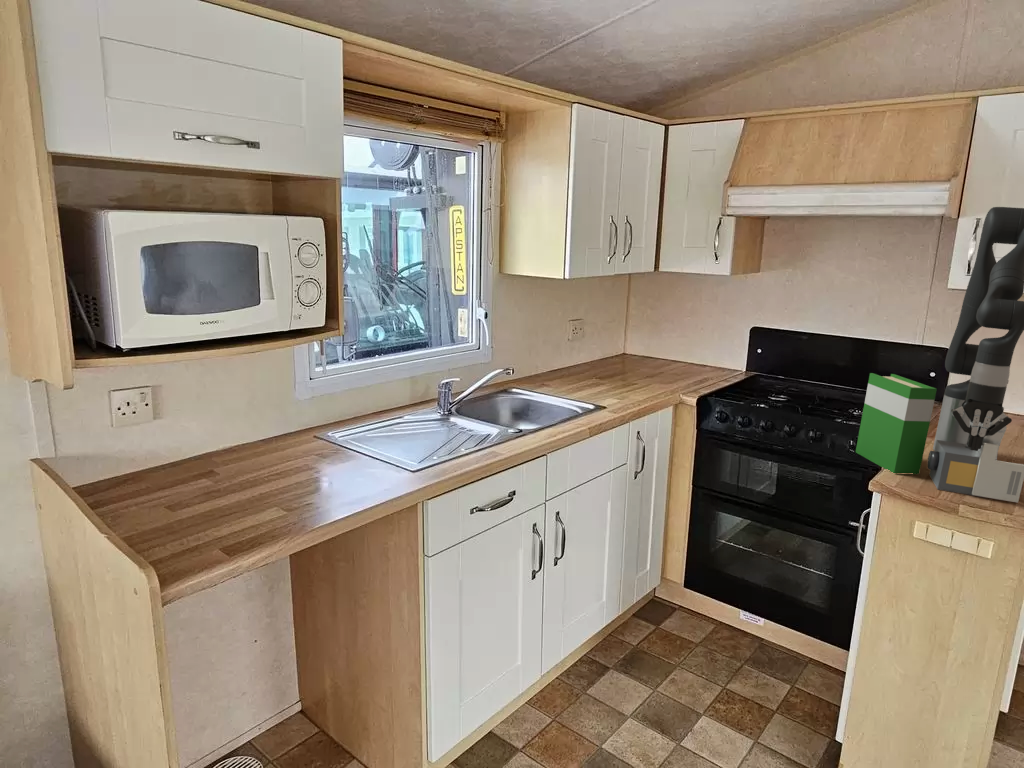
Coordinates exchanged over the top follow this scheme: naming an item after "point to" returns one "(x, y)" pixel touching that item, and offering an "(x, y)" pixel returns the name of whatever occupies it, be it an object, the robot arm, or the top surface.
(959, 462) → the camera housing
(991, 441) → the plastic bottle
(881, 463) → the hardback book
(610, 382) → the top surface
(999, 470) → the side door
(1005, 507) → the top surface
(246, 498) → the top surface
